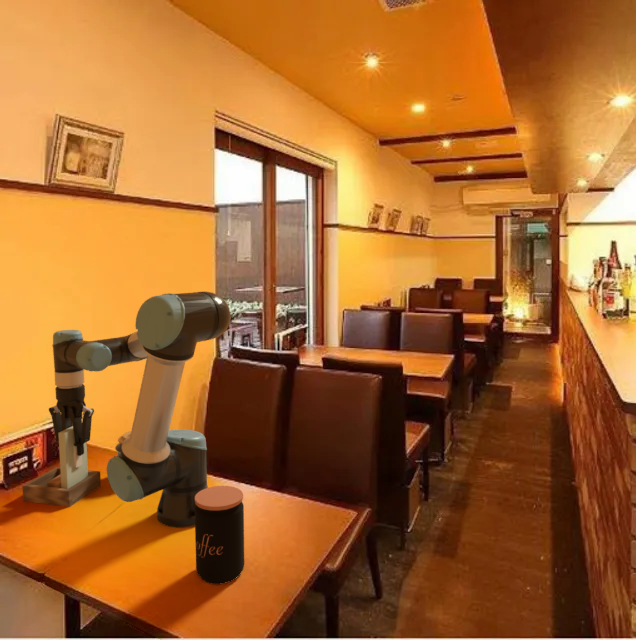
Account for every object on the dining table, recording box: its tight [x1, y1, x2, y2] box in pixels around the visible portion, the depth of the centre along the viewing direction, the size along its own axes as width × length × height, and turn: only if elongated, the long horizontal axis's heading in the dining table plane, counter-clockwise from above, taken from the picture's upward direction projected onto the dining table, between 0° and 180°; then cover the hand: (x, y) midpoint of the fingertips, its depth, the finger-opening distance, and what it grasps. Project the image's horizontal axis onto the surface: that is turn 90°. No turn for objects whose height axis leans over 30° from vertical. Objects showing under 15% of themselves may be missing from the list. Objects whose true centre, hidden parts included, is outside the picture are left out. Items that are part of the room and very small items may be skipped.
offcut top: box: [47, 474, 61, 488], centre depth 159 cm, size 3×8×2 cm, turn 171°
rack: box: [21, 466, 102, 508], centre depth 160 cm, size 15×14×6 cm
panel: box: [58, 425, 89, 489], centre depth 158 cm, size 2×9×18 cm, turn 167°
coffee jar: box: [194, 485, 245, 585], centre depth 123 cm, size 11×11×18 cm
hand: (74, 465), depth 158 cm, fingers closed on panel, 2 cm apart
